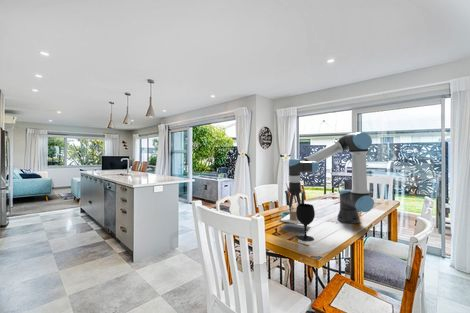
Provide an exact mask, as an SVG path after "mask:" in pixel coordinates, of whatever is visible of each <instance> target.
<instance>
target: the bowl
mask: <svg viewBox="0 0 470 313" xmlns="http://www.w3.org/2000/svg"><path fill="white" fill-rule="evenodd" d="M288 214H290V211H283V212H281V213H280V220H281V219H282V218H284V217H285V216H287V215H288Z"/></svg>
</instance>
